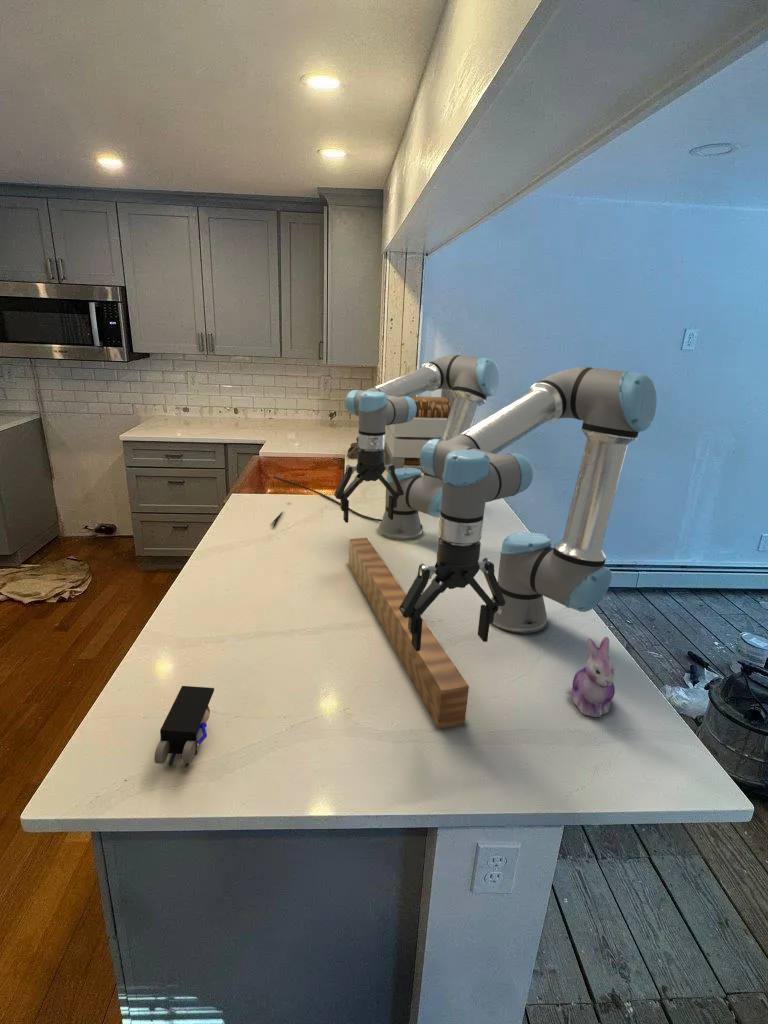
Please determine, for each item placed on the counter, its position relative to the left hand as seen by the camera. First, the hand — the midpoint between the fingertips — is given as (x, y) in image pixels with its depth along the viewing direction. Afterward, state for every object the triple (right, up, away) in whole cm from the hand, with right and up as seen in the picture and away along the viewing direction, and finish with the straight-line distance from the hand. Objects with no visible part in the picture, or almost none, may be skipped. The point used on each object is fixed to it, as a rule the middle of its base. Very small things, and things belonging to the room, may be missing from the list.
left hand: (368, 519), depth 166 cm
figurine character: (-30, -39, -65) cm, 81 cm away
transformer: (+22, +21, +109) cm, 114 cm away
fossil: (-9, +33, +139) cm, 143 cm away
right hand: (+17, -22, -59) cm, 65 cm away
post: (+7, -26, -24) cm, 36 cm away
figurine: (+47, -37, -49) cm, 78 cm away
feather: (-34, +1, +46) cm, 58 cm away
